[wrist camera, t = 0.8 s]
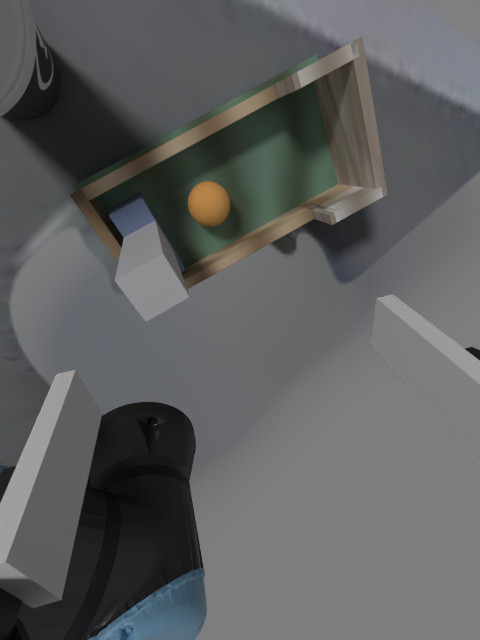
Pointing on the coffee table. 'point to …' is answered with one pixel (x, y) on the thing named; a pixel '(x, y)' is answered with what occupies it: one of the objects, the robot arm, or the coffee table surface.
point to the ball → (208, 203)
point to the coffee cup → (24, 64)
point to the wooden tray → (255, 165)
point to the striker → (147, 260)
